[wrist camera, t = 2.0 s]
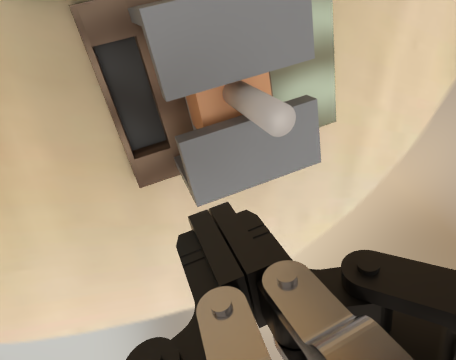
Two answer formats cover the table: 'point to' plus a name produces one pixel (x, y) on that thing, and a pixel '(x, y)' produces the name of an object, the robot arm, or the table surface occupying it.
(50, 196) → the table surface
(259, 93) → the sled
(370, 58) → the table surface
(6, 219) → the table surface
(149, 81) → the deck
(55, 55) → the table surface
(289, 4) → the tunnel
